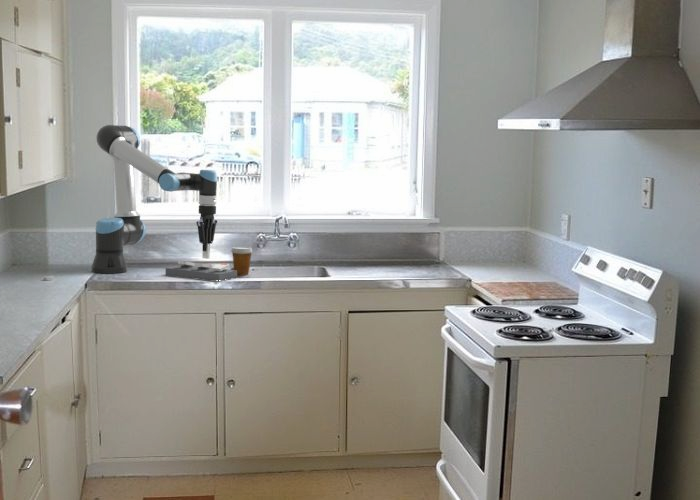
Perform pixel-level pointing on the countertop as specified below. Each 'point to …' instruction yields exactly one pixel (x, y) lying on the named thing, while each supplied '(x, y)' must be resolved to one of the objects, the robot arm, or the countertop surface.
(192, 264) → the block
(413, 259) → the countertop surface
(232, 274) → the power strip
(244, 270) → the disposable coffee cup
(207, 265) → the rocker middle
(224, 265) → the rocker right
